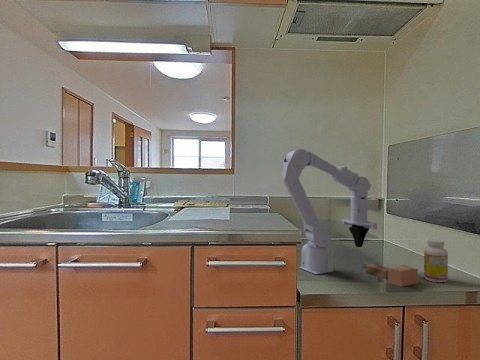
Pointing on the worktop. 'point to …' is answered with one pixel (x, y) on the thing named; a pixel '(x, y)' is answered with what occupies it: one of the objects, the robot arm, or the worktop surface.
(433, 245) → the supplement bottle
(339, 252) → the worktop surface
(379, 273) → the brown rectangular block
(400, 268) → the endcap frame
